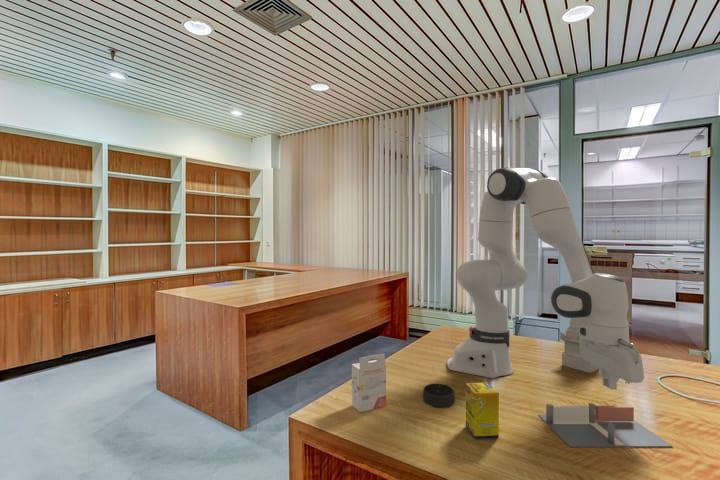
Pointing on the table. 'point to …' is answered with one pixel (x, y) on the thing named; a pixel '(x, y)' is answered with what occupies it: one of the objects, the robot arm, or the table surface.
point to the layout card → (606, 434)
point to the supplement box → (482, 410)
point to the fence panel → (614, 413)
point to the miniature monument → (575, 347)
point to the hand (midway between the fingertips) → (609, 387)
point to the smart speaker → (438, 395)
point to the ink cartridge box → (369, 383)
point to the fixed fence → (575, 416)
